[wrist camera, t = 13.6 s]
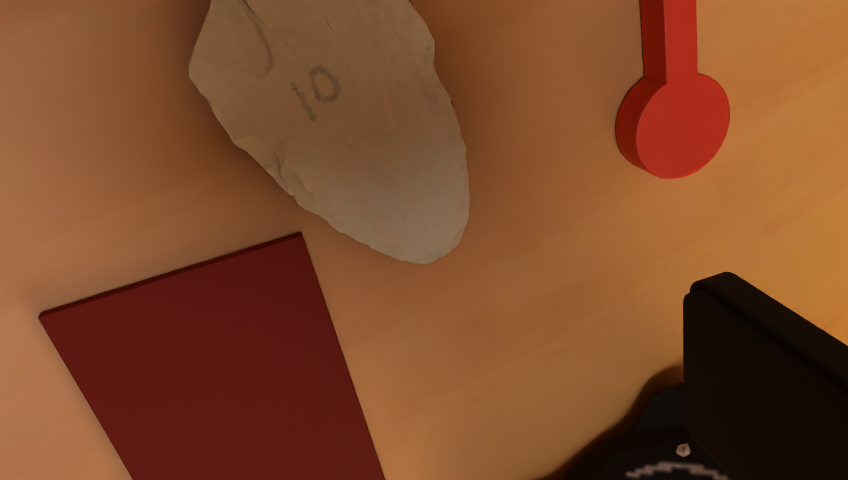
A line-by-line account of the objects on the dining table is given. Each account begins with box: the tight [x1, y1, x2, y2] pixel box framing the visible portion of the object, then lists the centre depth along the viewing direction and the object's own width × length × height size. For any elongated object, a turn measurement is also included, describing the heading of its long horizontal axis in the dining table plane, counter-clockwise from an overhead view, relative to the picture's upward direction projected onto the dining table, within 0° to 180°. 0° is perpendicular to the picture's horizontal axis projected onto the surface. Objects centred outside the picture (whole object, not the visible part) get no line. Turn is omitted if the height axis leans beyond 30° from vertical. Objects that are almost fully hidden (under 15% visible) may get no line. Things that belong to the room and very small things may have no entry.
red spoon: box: [616, 0, 730, 179], centre depth 25 cm, size 14×4×2 cm, turn 13°
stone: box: [188, 0, 470, 264], centre depth 23 cm, size 8×14×2 cm, turn 32°
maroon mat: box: [38, 232, 385, 480], centre depth 28 cm, size 18×10×1 cm, turn 13°
